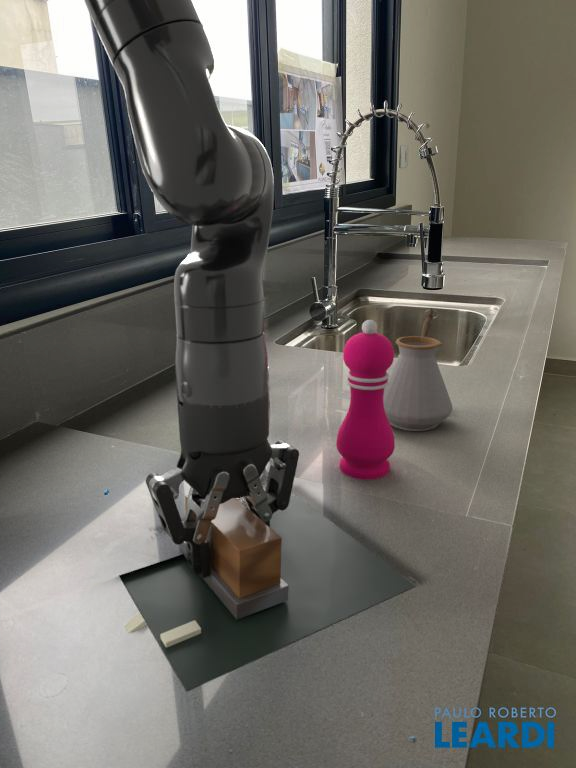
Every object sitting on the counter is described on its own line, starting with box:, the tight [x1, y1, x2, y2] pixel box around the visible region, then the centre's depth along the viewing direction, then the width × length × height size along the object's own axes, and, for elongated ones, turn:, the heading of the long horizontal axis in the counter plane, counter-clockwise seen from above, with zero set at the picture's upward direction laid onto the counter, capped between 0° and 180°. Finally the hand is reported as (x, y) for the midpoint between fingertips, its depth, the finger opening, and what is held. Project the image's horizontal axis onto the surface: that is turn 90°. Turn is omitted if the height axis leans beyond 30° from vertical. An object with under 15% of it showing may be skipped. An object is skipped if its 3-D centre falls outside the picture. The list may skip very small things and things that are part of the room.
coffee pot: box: [383, 307, 453, 432], centre depth 95 cm, size 21×12×15 cm, turn 160°
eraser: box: [178, 494, 289, 619], centre depth 54 cm, size 5×12×6 cm, turn 32°
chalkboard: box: [118, 493, 416, 692], centre depth 57 cm, size 22×20×1 cm
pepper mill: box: [335, 319, 396, 481], centre depth 73 cm, size 7×7×20 cm
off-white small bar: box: [160, 620, 201, 648], centre depth 48 cm, size 3×1×1 cm, turn 123°
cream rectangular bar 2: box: [123, 612, 148, 634], centre depth 49 cm, size 3×1×1 cm, turn 126°
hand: (229, 562), depth 55 cm, fingers closed on eraser, 5 cm apart
